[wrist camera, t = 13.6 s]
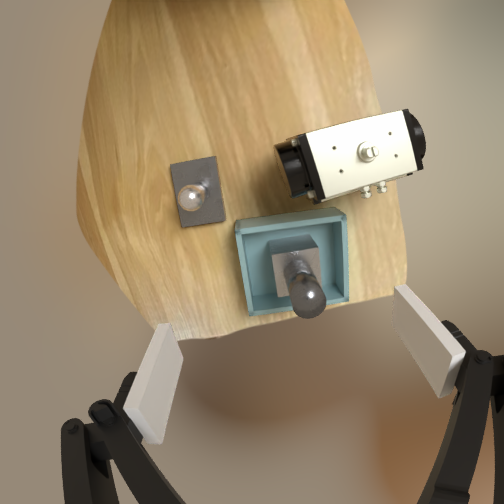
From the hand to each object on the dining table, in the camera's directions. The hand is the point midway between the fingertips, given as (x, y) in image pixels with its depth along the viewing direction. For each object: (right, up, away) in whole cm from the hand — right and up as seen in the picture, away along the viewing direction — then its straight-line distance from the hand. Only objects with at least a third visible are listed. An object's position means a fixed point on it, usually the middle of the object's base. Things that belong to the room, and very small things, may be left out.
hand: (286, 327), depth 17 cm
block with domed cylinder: (+4, +4, +32) cm, 33 cm away
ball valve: (+10, +19, +28) cm, 36 cm away
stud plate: (-10, +14, +30) cm, 34 cm away
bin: (+5, +4, +33) cm, 34 cm away
